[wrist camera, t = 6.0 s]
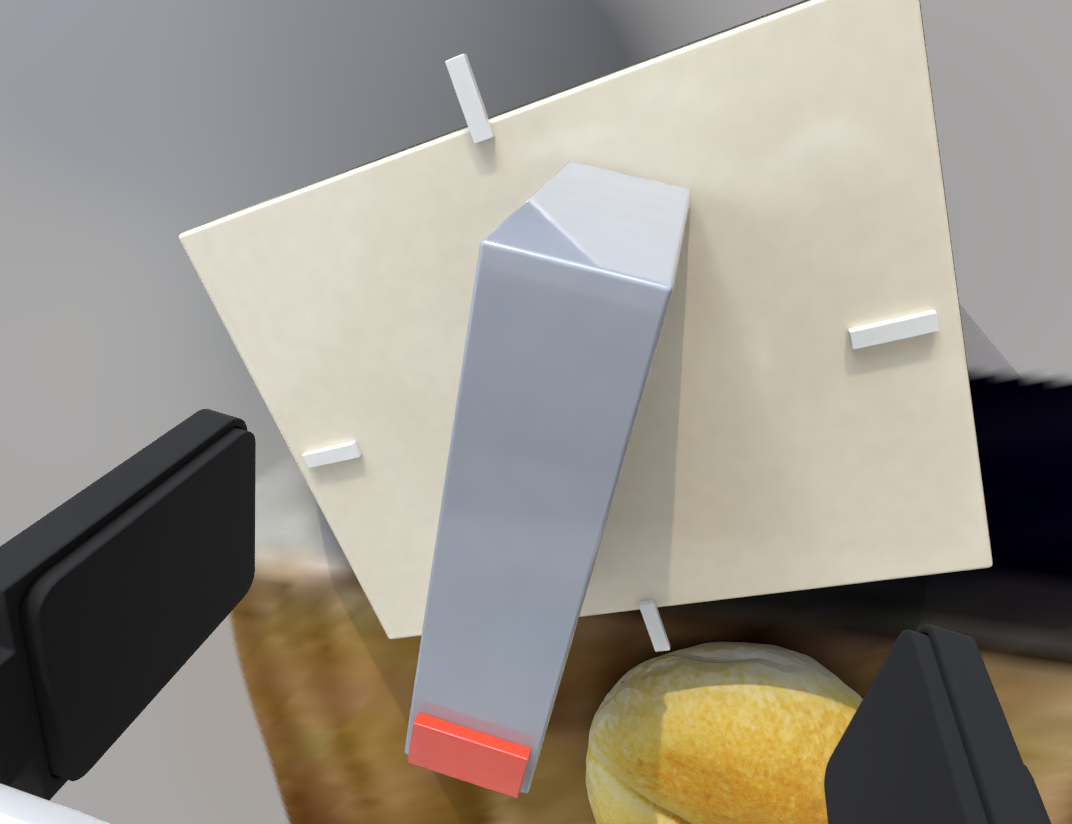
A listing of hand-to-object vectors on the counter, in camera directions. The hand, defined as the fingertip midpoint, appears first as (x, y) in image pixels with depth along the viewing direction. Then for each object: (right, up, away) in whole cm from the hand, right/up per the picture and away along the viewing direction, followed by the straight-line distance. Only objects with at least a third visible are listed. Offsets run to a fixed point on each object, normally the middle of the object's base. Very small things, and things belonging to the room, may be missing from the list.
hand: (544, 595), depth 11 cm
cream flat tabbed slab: (+1, +4, +7) cm, 8 cm away
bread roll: (+6, -7, +12) cm, 15 cm away
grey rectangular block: (+1, +3, +4) cm, 5 cm away
